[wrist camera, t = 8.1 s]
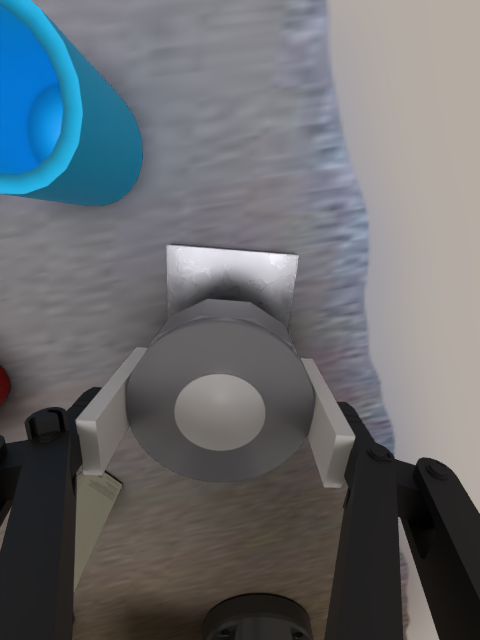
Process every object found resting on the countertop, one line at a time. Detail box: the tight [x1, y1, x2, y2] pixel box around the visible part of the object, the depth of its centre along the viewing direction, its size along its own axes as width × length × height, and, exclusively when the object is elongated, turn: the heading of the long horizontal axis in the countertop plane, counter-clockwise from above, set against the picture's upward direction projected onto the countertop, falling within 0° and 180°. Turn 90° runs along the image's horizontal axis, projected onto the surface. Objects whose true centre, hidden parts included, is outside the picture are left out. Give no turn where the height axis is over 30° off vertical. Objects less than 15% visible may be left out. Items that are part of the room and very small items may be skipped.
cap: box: [126, 299, 314, 482], centre depth 15 cm, size 9×9×4 cm
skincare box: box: [74, 472, 122, 591], centre depth 25 cm, size 6×4×12 cm
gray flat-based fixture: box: [167, 244, 299, 331], centre depth 19 cm, size 14×10×10 cm
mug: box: [0, 0, 143, 206], centre depth 16 cm, size 12×8×8 cm
